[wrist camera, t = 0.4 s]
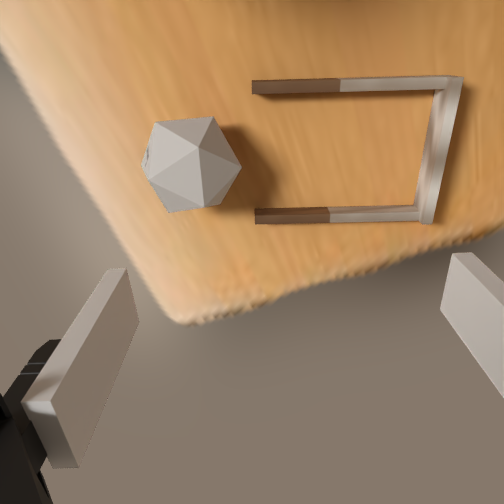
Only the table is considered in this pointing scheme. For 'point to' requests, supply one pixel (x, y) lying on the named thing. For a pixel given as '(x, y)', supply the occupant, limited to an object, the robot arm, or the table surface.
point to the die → (189, 163)
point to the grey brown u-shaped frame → (431, 160)
